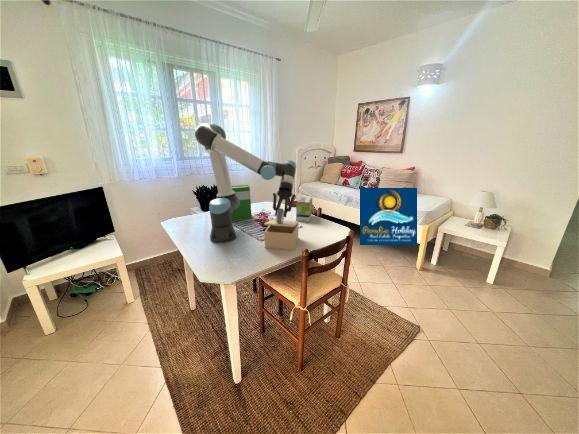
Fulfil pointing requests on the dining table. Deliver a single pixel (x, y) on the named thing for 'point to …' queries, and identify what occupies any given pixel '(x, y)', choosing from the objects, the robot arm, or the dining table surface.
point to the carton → (281, 237)
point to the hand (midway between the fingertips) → (279, 221)
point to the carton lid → (285, 223)
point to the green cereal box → (242, 203)
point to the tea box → (304, 209)
